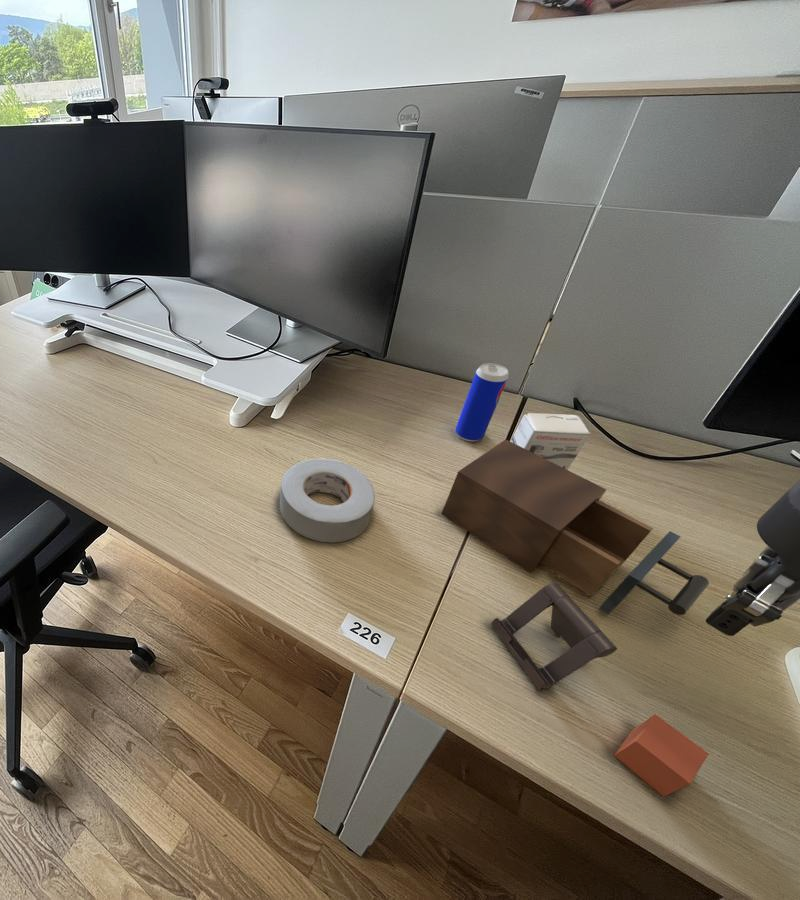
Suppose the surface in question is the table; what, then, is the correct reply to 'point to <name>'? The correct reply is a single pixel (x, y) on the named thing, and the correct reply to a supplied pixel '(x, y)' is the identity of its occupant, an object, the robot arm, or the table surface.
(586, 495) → the cabinet
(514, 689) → the table surface
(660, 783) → the block
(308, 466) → the tape roll
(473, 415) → the beverage can
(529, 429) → the ink box
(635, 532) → the drawer
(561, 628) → the tablet stand
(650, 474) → the table surface
